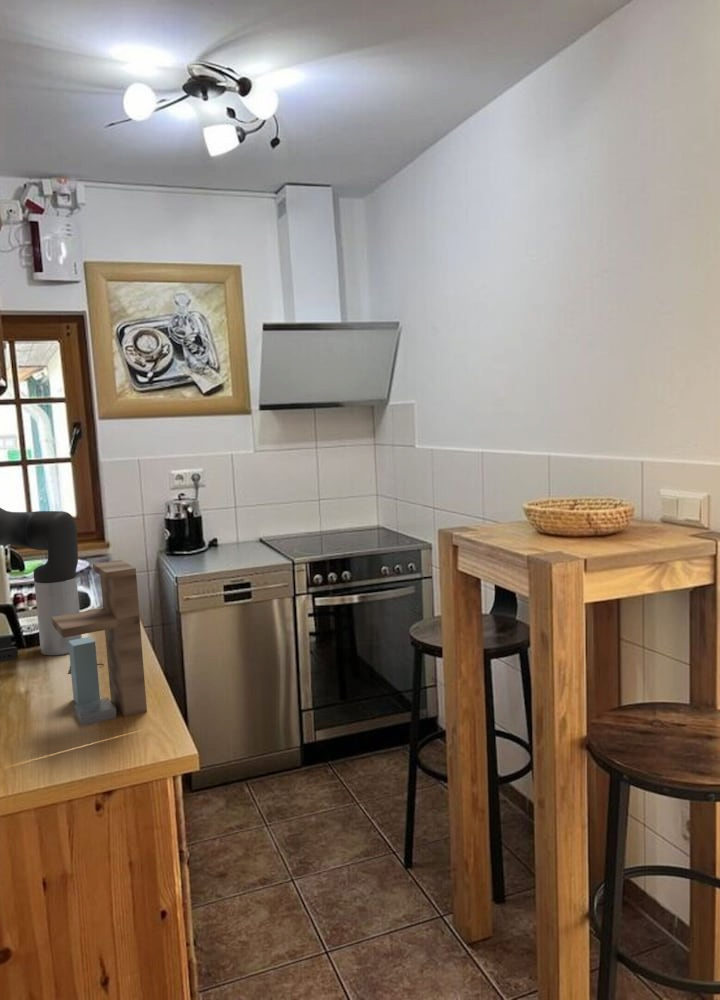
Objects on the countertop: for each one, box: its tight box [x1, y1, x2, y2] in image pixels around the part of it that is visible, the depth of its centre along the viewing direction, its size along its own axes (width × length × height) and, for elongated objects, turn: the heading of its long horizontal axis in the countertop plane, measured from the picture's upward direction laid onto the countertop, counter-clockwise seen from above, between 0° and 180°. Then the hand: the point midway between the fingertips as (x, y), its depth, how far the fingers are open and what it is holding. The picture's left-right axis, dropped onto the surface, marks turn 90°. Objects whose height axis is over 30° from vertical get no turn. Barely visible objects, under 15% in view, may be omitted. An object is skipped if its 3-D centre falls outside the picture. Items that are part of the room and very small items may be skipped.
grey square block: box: [74, 697, 118, 727], centre depth 134 cm, size 6×6×2 cm
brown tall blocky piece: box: [51, 559, 148, 718], centre depth 135 cm, size 10×13×27 cm
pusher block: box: [68, 636, 101, 705], centre depth 142 cm, size 4×4×12 cm
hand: (14, 646), depth 134 cm, fingers open, 8 cm apart
